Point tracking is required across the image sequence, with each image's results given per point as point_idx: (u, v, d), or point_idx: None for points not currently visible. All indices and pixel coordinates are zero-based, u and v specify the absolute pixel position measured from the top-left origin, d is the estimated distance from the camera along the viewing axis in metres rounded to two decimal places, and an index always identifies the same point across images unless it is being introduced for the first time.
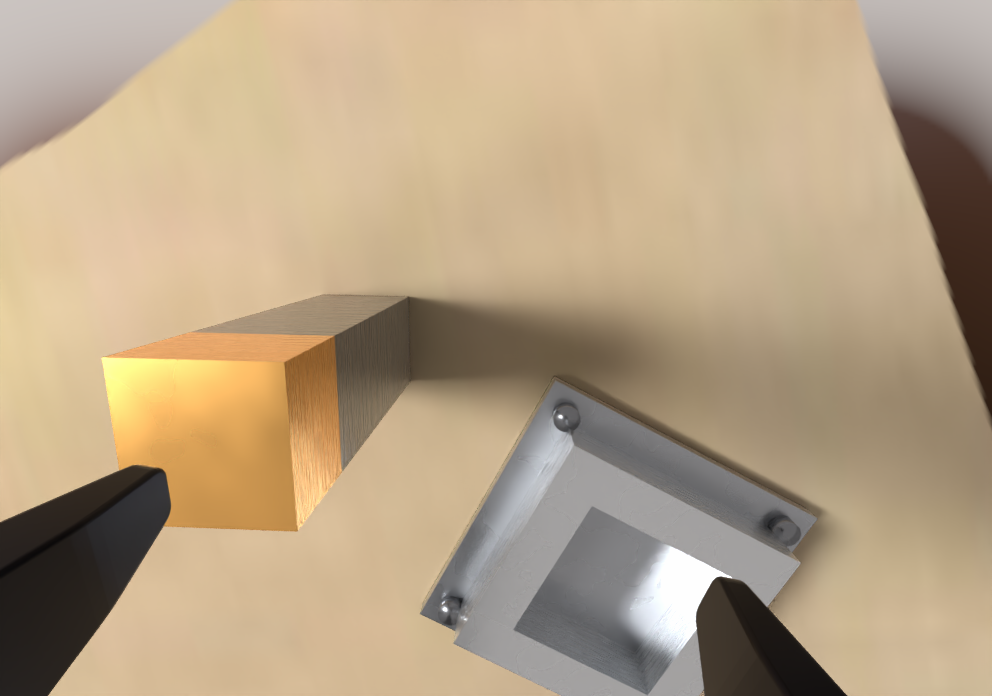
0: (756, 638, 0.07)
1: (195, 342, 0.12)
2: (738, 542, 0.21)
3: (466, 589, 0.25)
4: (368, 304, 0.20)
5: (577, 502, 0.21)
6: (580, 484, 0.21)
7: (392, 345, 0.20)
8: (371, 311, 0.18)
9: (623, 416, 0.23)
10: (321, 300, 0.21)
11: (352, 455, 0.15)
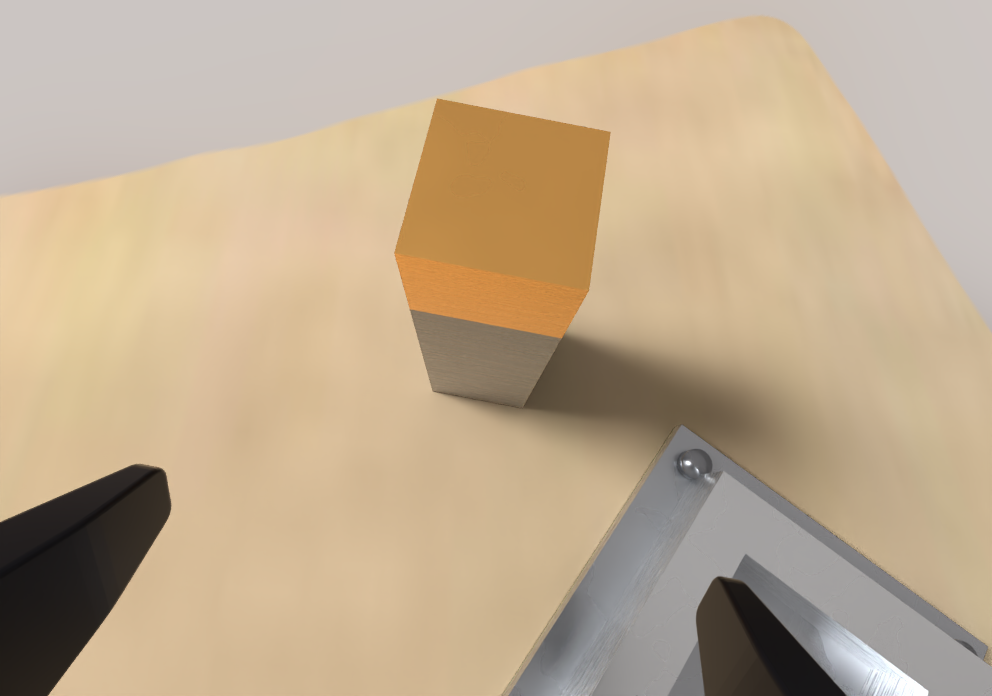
0: (756, 638, 0.07)
1: None
2: (923, 633, 0.17)
3: None
4: None
5: (728, 546, 0.18)
6: (731, 522, 0.18)
7: None
8: None
9: (752, 477, 0.21)
10: None
11: (555, 348, 0.14)
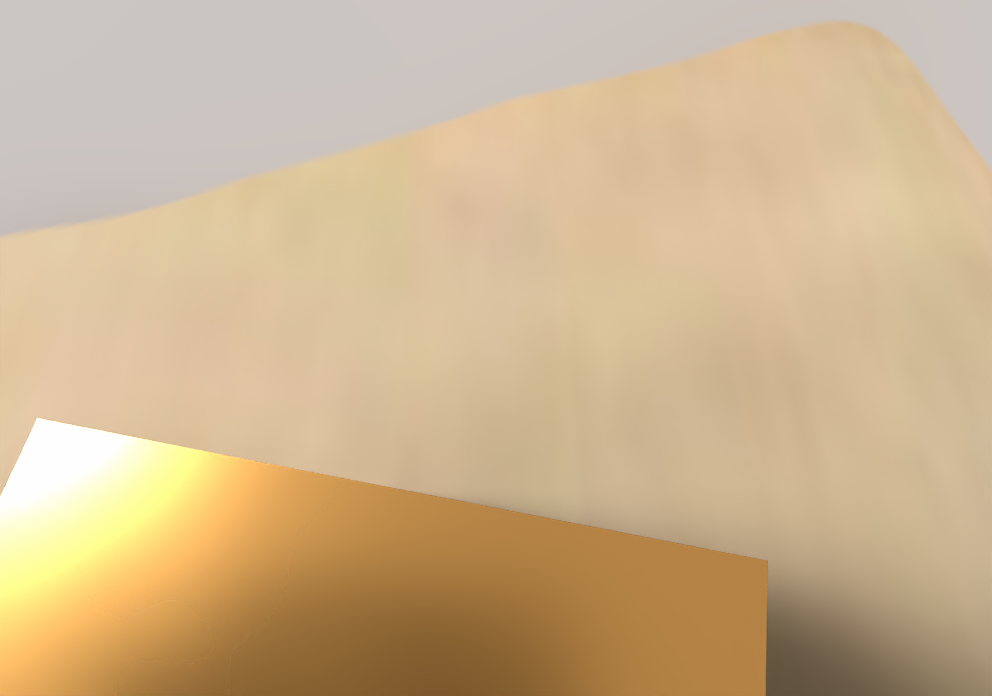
0: None
1: None
2: None
3: None
4: None
5: None
6: None
7: None
8: None
9: None
10: None
11: None
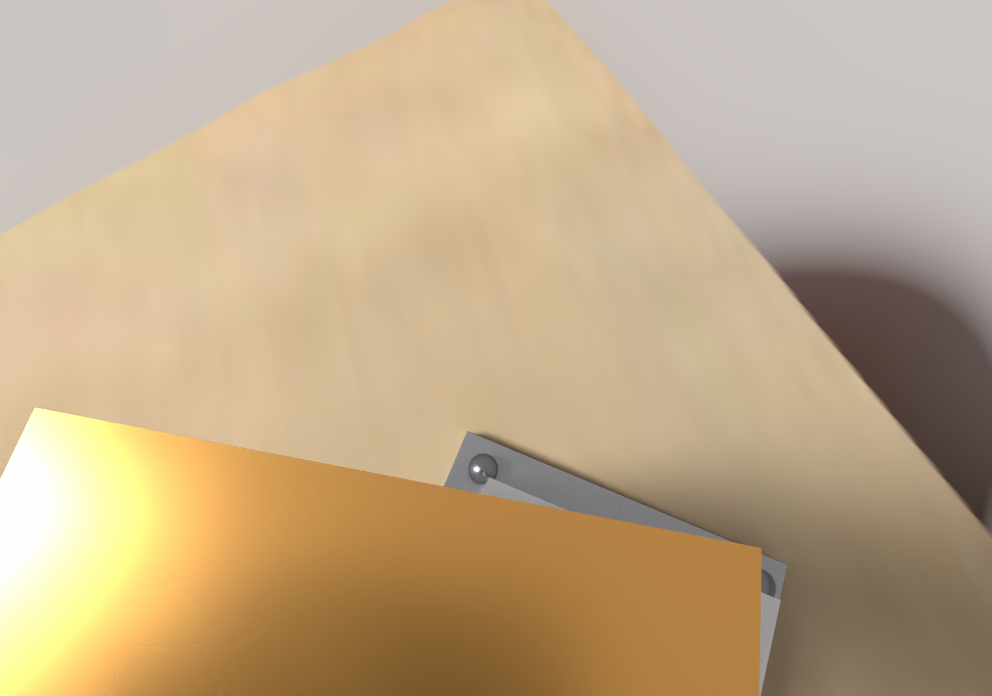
0: None
1: None
2: None
3: None
4: None
5: None
6: None
7: None
8: None
9: (545, 464, 0.21)
10: None
11: None
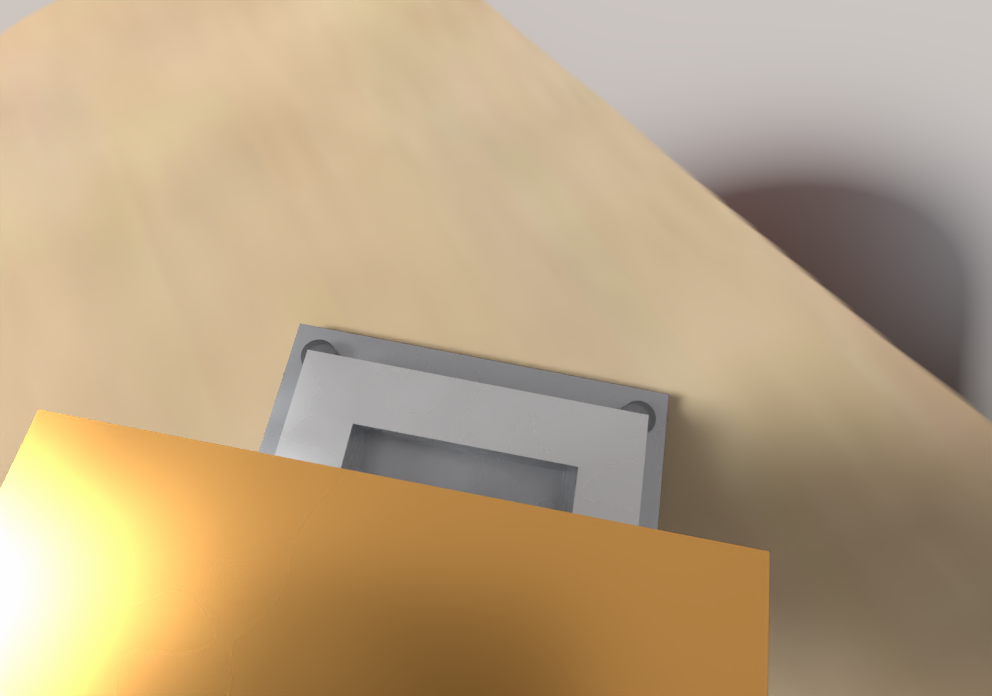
0: None
1: None
2: (559, 412, 0.16)
3: None
4: None
5: (331, 424, 0.15)
6: (329, 398, 0.15)
7: None
8: None
9: (393, 342, 0.19)
10: None
11: None
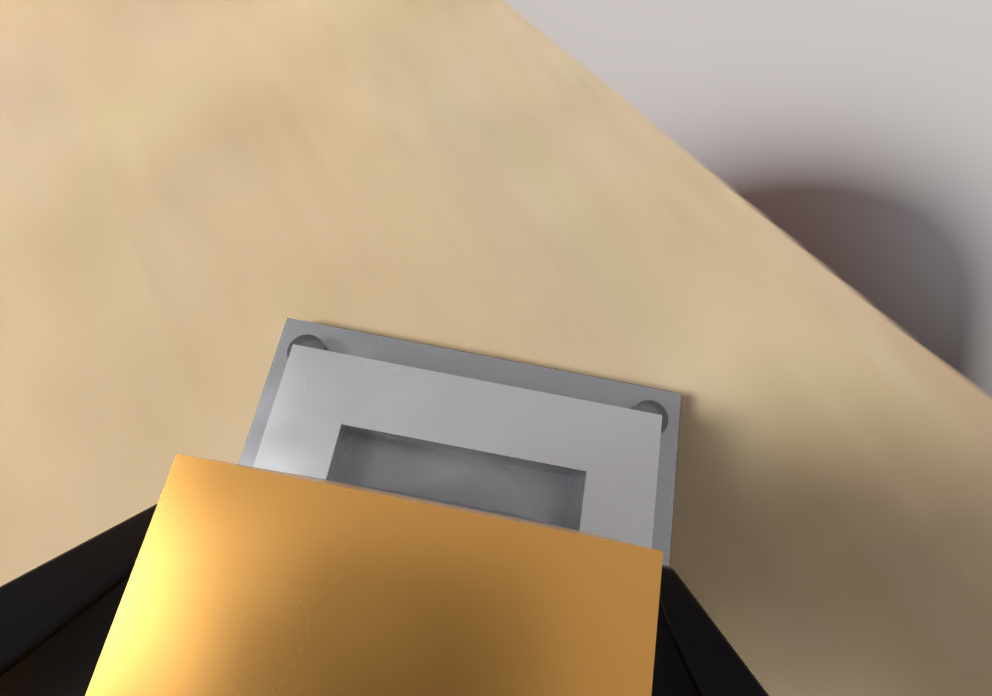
0: (673, 622, 0.07)
1: (341, 485, 0.06)
2: (566, 412, 0.15)
3: None
4: (490, 510, 0.13)
5: (318, 425, 0.14)
6: (316, 396, 0.14)
7: None
8: (523, 517, 0.11)
9: (387, 338, 0.18)
10: (409, 494, 0.14)
11: None
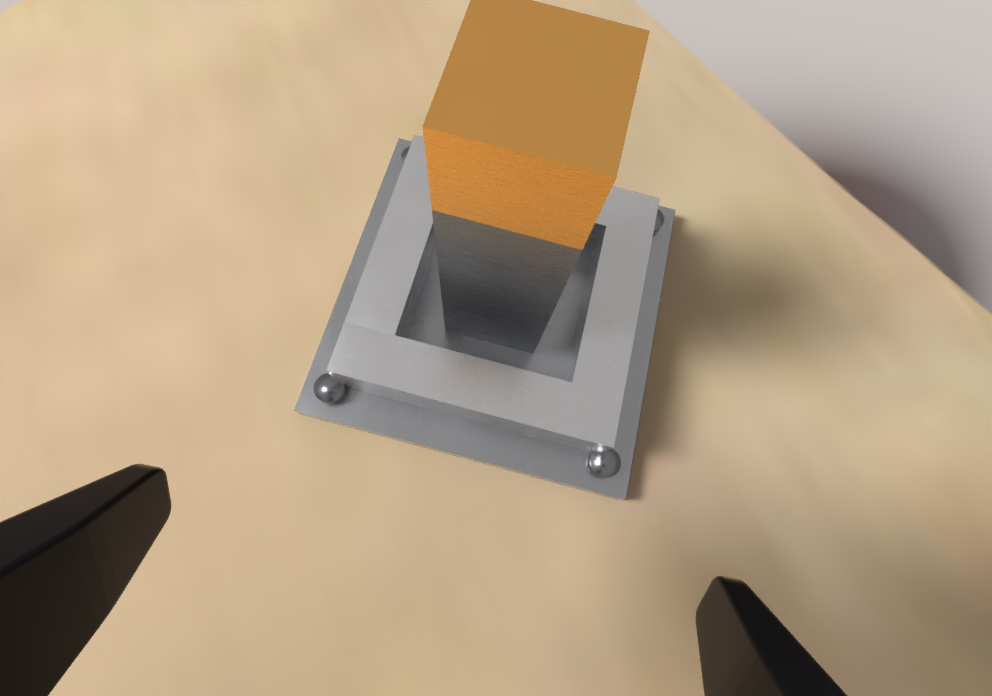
0: (756, 638, 0.07)
1: None
2: None
3: None
4: None
5: None
6: None
7: None
8: None
9: None
10: None
11: (574, 265, 0.14)
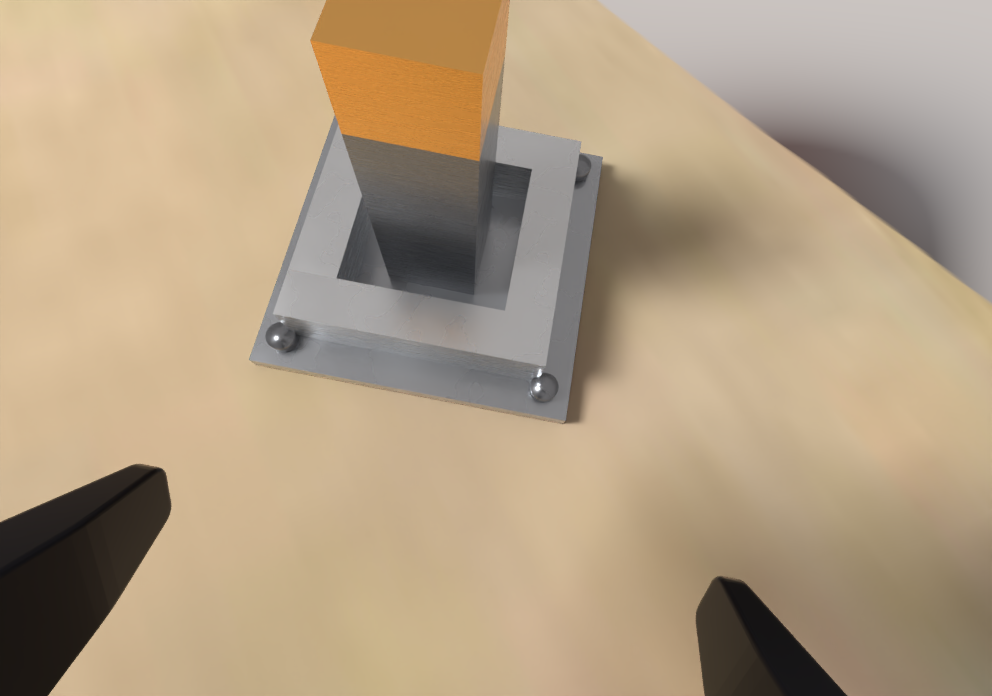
0: (756, 638, 0.07)
1: None
2: (520, 138, 0.23)
3: None
4: None
5: None
6: None
7: (486, 212, 0.21)
8: None
9: None
10: None
11: (478, 180, 0.15)
